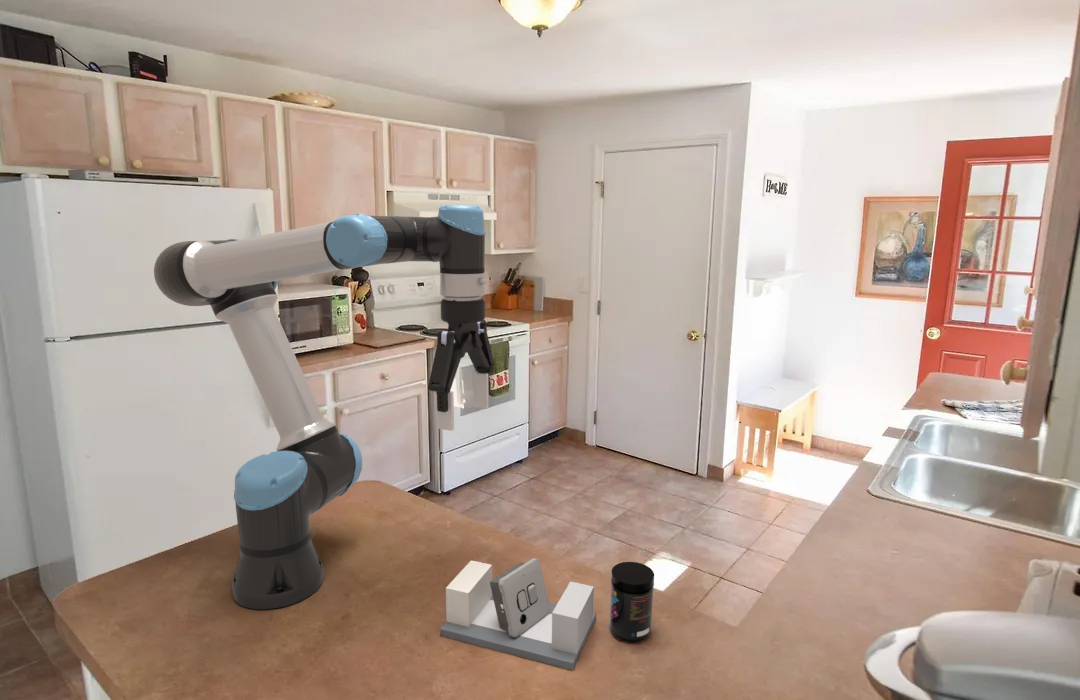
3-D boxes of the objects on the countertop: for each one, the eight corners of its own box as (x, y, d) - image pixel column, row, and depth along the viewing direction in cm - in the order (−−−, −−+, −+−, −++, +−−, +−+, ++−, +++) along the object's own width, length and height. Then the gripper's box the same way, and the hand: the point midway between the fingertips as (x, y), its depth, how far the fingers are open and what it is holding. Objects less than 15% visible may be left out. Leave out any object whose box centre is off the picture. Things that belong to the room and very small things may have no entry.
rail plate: (440, 635, 99) (439, 594, 98) (476, 591, 111) (476, 554, 110) (572, 670, 92) (573, 626, 90) (595, 619, 104) (597, 580, 102)
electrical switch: (514, 641, 96) (509, 584, 95) (489, 630, 100) (485, 575, 98) (551, 613, 104) (547, 560, 102) (527, 603, 107) (523, 552, 106)
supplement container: (630, 613, 106) (632, 557, 103) (660, 634, 100) (663, 575, 98) (600, 628, 102) (602, 570, 100) (630, 651, 96) (632, 589, 94)
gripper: (446, 307, 93) (449, 442, 98) (511, 291, 116) (511, 401, 120) (403, 305, 96) (407, 436, 100) (475, 290, 119) (476, 397, 123)
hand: (464, 417), depth 110 cm, fingers open, 13 cm apart
